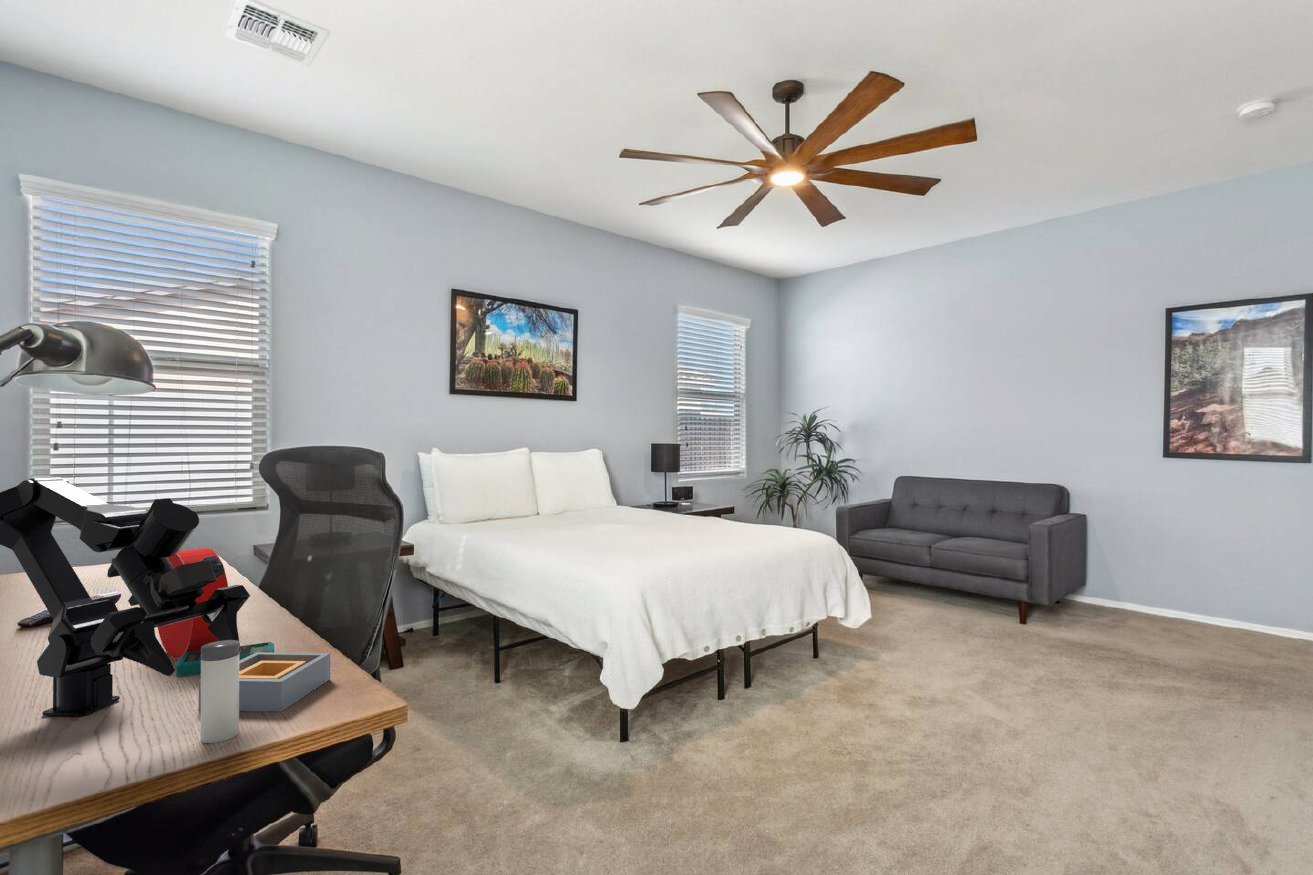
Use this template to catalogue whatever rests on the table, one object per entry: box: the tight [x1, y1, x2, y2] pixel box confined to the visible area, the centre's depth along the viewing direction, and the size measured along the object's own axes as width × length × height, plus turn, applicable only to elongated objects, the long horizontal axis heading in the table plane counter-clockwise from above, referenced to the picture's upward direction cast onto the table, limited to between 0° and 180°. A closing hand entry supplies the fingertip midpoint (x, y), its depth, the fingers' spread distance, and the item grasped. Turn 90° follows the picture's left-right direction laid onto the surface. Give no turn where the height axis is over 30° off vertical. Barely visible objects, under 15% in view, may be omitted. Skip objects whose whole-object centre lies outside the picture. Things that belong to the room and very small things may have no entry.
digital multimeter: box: [175, 641, 275, 677], centre depth 117 cm, size 7×15×3 cm, turn 117°
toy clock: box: [157, 547, 229, 660], centre depth 123 cm, size 20×6×20 cm, turn 54°
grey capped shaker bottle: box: [200, 640, 240, 744], centre depth 88 cm, size 4×4×12 cm
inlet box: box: [197, 652, 331, 713], centre depth 103 cm, size 13×13×4 cm
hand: (206, 662), depth 89 cm, fingers open, 9 cm apart
